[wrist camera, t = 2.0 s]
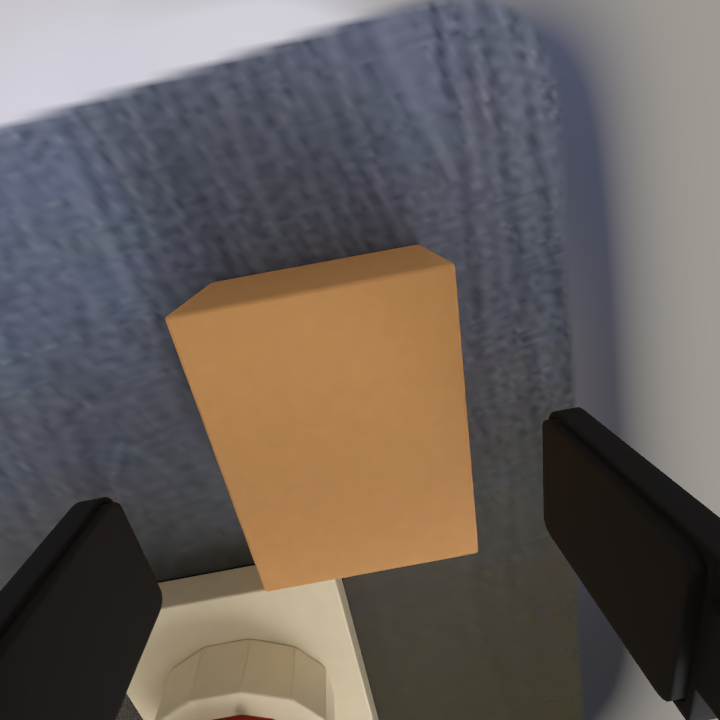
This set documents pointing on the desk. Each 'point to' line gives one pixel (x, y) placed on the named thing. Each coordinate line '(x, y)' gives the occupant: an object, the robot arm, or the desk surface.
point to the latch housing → (252, 652)
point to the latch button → (244, 718)
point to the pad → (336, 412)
